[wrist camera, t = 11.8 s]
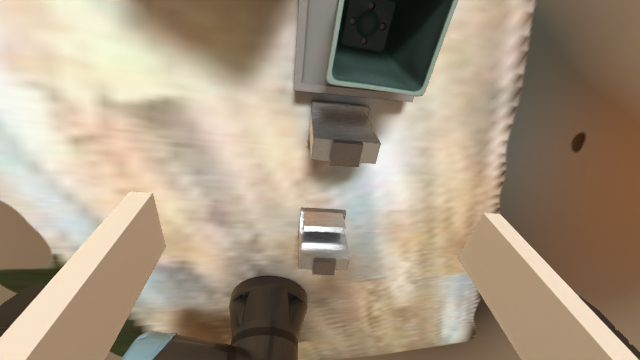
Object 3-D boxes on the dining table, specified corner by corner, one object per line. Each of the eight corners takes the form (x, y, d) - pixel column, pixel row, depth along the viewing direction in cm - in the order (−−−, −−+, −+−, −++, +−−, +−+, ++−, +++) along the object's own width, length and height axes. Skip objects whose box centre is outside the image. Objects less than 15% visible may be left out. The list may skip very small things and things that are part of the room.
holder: (339, 236, 47) (346, 280, 40) (298, 235, 46) (297, 279, 39) (368, 105, 34) (385, 135, 27) (312, 100, 33) (314, 129, 26)
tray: (405, 95, 33) (412, 102, 31) (294, 83, 32) (293, 90, 30) (447, -48, 26) (460, -52, 24) (303, -72, 24) (303, -78, 22)
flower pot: (423, -21, 27) (469, -27, 19) (395, 73, 31) (423, 98, 24) (334, -39, 25) (347, -52, 18) (319, 61, 30) (325, 83, 23)
